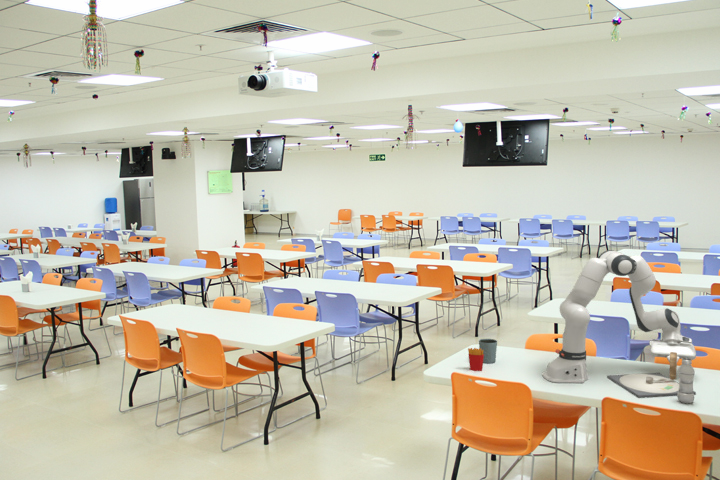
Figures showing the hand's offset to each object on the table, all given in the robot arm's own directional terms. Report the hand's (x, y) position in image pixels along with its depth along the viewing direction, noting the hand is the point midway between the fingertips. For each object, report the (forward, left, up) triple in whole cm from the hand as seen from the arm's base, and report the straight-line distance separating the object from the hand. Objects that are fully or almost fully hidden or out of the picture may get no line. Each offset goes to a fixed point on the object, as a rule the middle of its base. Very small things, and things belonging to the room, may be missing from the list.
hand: (673, 365), depth 282 cm
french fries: (-91, +33, -9) cm, 97 cm away
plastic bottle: (-11, -26, -9) cm, 29 cm away
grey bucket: (-80, +46, -9) cm, 93 cm away
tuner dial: (-15, -4, -8) cm, 18 cm away
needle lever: (-9, -4, -7) cm, 12 cm away
